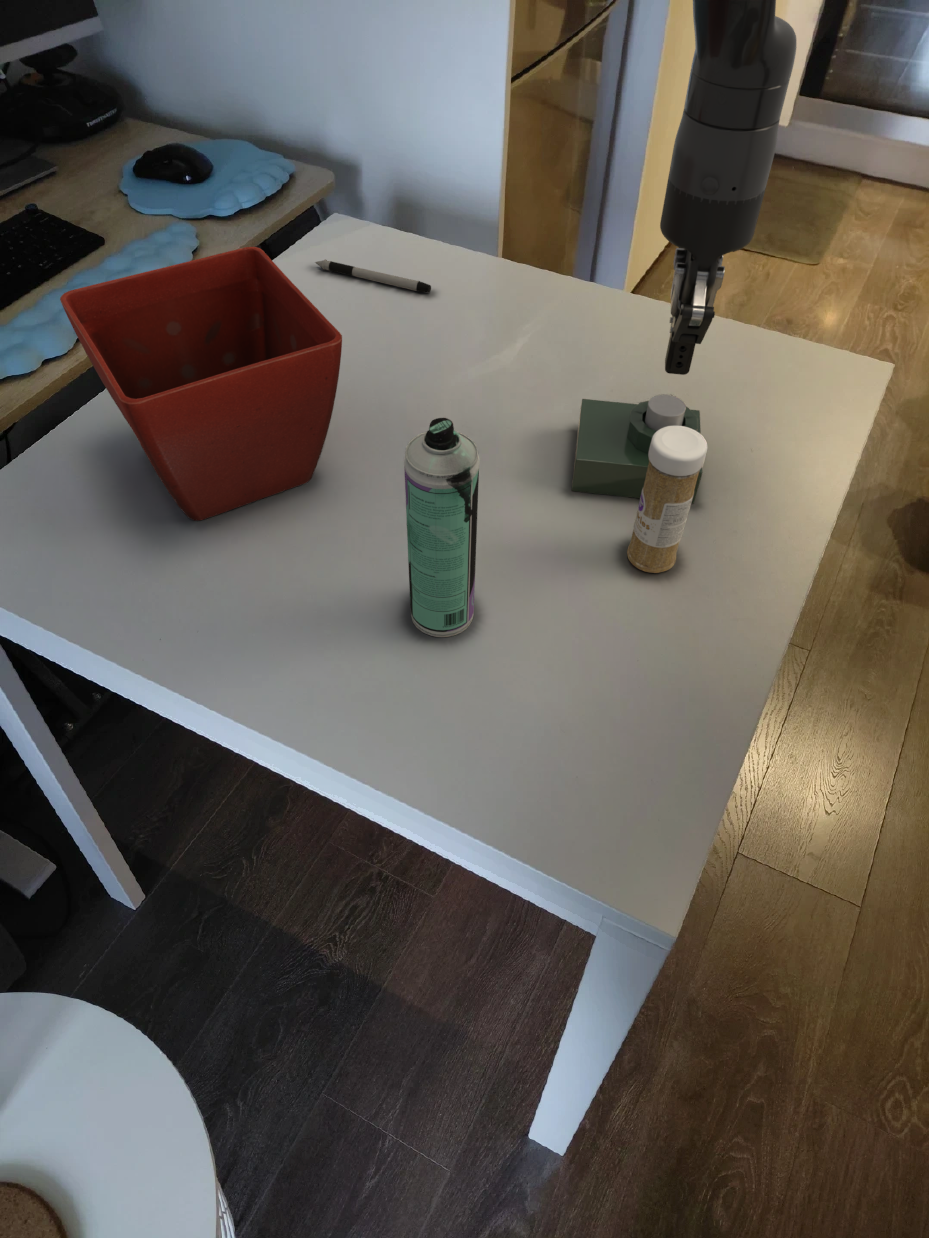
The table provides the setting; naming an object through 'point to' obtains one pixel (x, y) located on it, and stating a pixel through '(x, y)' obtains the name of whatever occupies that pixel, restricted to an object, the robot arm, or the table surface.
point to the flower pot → (215, 374)
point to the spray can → (441, 528)
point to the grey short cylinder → (664, 411)
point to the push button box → (617, 447)
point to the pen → (375, 276)
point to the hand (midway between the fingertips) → (676, 369)
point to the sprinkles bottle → (666, 497)
